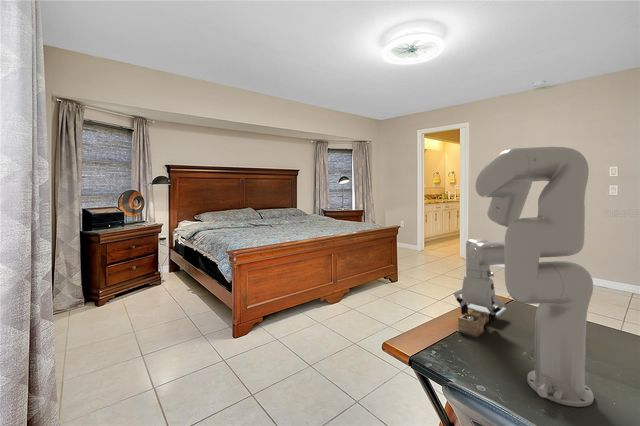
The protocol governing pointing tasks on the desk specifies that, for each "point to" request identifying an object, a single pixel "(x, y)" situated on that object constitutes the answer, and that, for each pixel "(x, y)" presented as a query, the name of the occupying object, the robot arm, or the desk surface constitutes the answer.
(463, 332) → the pintle
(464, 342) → the desk surface
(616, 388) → the desk surface
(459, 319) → the link
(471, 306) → the plate
